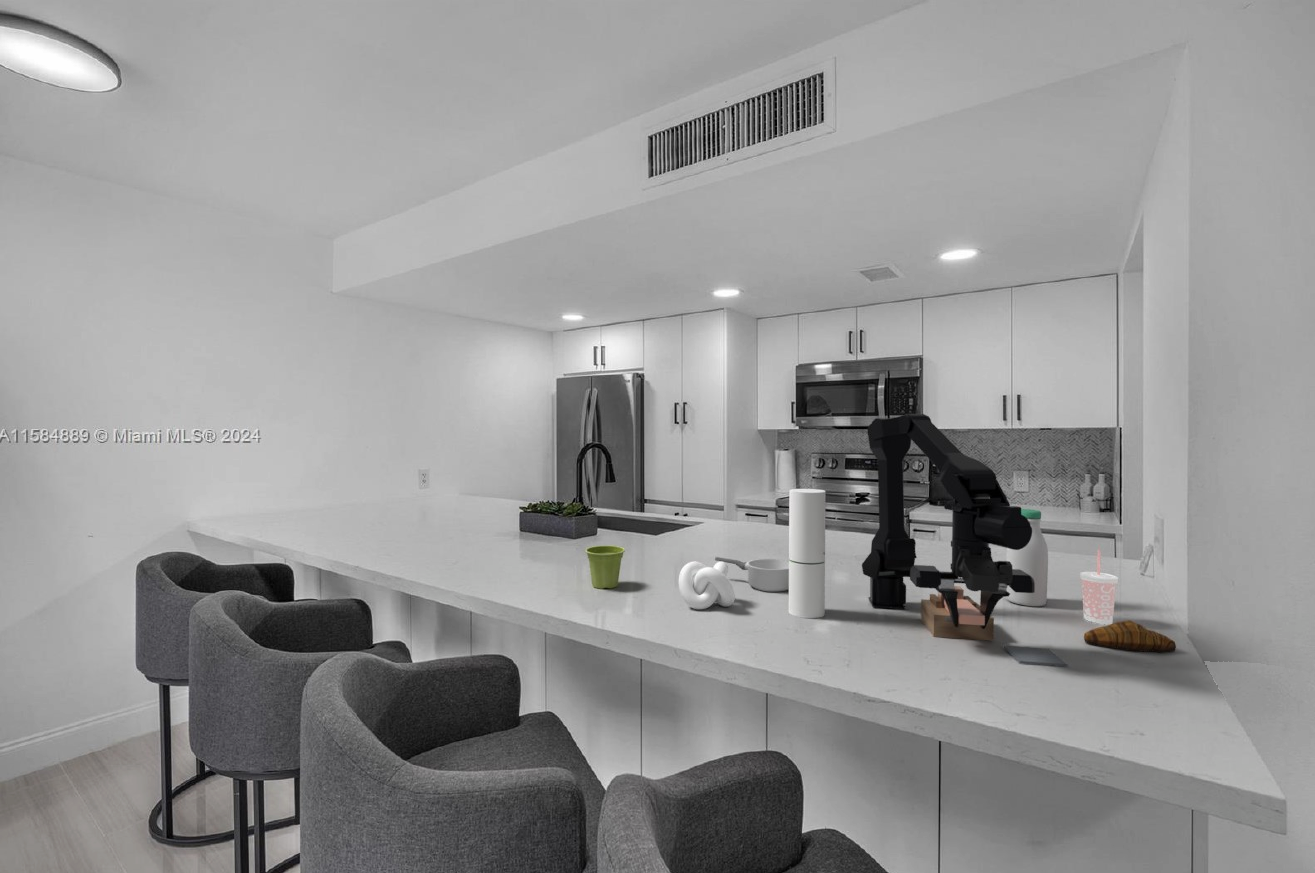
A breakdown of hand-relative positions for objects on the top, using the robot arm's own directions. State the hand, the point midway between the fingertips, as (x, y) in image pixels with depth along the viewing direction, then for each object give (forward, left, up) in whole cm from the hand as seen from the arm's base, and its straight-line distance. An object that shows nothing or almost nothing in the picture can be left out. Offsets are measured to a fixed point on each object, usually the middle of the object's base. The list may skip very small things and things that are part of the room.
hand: (969, 627), depth 107 cm
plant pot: (-73, +25, -3) cm, 77 cm away
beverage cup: (+29, +19, -3) cm, 35 cm away
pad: (+9, -4, -3) cm, 10 cm away
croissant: (+27, +4, -4) cm, 28 cm away
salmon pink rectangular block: (0, +4, +1) cm, 4 cm away
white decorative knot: (-48, +14, -3) cm, 50 cm away
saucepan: (-38, +33, -3) cm, 51 cm away
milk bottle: (+20, +30, -3) cm, 36 cm away
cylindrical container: (-27, +13, -3) cm, 30 cm away
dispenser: (0, +8, -3) cm, 9 cm away
